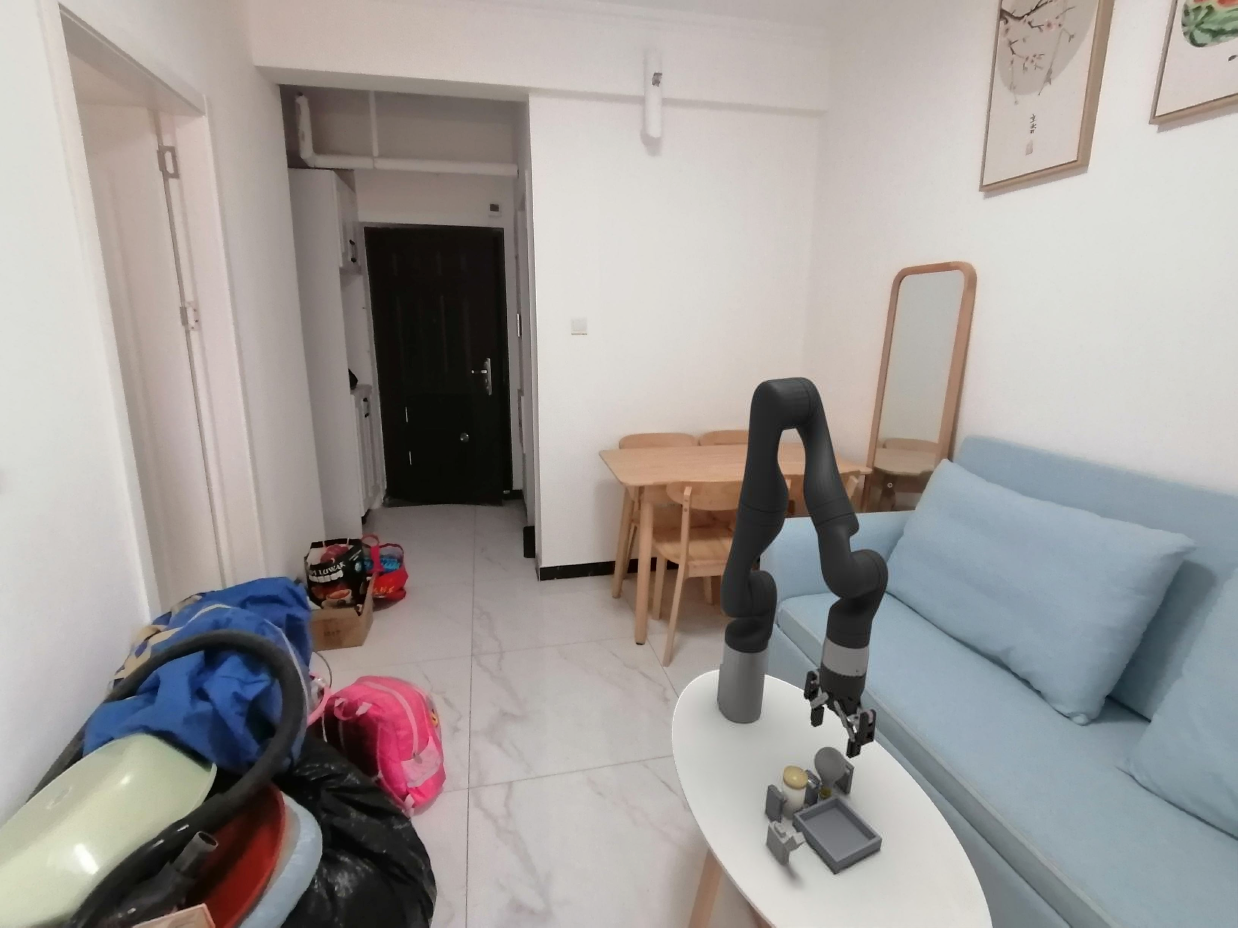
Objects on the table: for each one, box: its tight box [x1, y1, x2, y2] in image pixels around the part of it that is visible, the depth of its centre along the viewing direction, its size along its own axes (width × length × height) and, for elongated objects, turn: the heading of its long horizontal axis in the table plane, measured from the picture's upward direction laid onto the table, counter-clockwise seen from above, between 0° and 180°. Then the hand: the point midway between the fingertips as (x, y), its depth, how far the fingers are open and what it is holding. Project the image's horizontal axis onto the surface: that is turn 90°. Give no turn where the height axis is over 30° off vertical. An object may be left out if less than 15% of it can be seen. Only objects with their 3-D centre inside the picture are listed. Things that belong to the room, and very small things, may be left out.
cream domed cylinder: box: [780, 765, 808, 821], centre depth 107 cm, size 4×4×8 cm
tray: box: [791, 794, 883, 875], centre depth 103 cm, size 10×10×2 cm
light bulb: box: [813, 746, 846, 798], centre depth 110 cm, size 6×6×10 cm
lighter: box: [765, 821, 806, 865], centre depth 98 cm, size 7×2×8 cm, turn 23°
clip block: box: [764, 757, 855, 824], centre depth 109 cm, size 3×17×6 cm, turn 116°
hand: (833, 739), depth 108 cm, fingers open, 8 cm apart
